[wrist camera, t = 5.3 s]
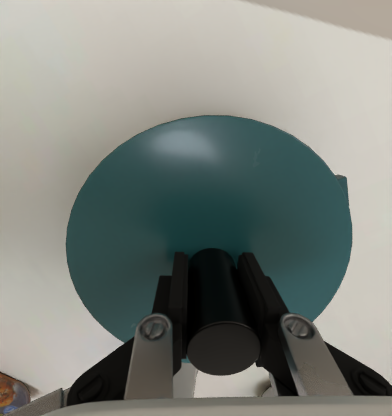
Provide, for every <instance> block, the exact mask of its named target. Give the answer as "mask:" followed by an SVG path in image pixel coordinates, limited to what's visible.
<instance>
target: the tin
mask: <svg viewBox="0 0 392 416" xmlns="http://www.w3.org/2000/svg"><path fill="white" fill-rule="evenodd" d="M28 403H30V394H29V391H28V389H27V387H26V386H25V385H24V384H23V383H22V382H20V381H18V380H16V379H13V378H11V377H8V376H6V375H4V374H1V373H0V416H1V415H4V414H6V413H8V412H10V411H12V410H15V409H17V408H19V407H21V406H23V405H25V404H28Z"/></svg>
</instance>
